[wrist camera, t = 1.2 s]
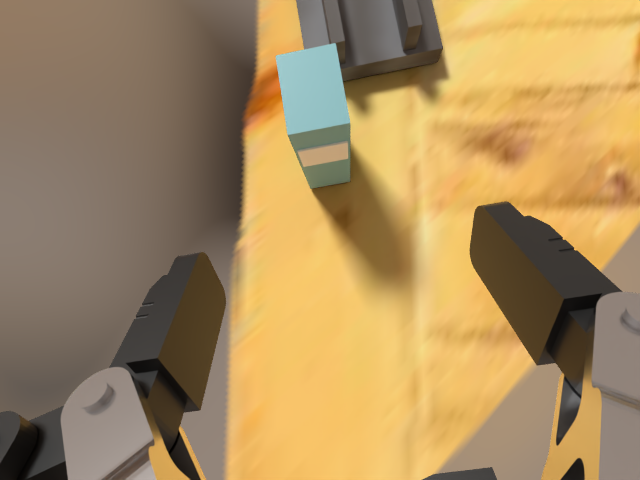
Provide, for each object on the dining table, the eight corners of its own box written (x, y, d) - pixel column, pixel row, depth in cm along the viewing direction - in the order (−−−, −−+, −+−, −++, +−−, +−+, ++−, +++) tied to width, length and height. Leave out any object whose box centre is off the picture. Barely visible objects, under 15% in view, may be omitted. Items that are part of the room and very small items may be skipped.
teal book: (340, 128, 33) (335, 42, 21) (350, 183, 32) (350, 125, 20) (302, 136, 33) (275, 55, 21) (310, 190, 32) (288, 137, 21)
